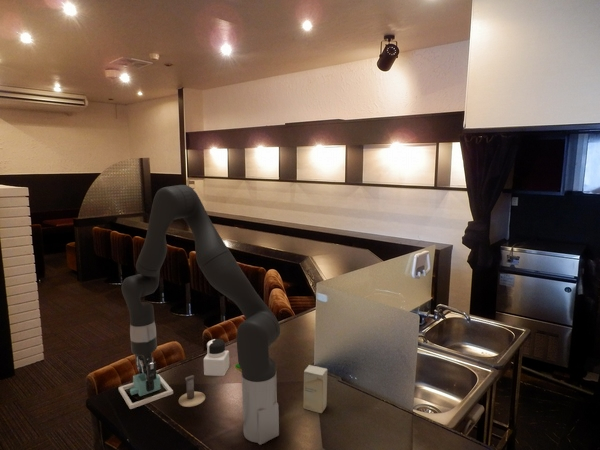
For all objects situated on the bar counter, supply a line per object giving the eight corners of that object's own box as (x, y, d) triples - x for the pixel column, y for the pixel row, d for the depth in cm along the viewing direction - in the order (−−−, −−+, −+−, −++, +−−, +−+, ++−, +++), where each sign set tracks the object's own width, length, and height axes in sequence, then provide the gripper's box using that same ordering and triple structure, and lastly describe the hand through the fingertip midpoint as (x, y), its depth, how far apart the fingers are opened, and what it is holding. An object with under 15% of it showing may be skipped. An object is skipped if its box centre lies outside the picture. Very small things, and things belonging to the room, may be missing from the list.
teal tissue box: (133, 398, 121) (132, 386, 120) (127, 389, 126) (127, 377, 125) (160, 389, 126) (159, 377, 125) (153, 380, 131) (153, 369, 130)
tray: (173, 397, 125) (173, 390, 125) (130, 412, 117) (129, 406, 117) (159, 380, 135) (158, 374, 135) (118, 393, 127) (118, 387, 127)
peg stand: (209, 403, 122) (208, 379, 120) (184, 413, 117) (183, 388, 116) (198, 392, 128) (197, 368, 127) (174, 401, 123) (173, 377, 122)
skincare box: (302, 409, 118) (302, 371, 117) (308, 401, 123) (308, 364, 121) (322, 414, 116) (322, 375, 114) (327, 405, 120) (327, 368, 118)
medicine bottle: (229, 368, 143) (228, 337, 141) (224, 379, 136) (222, 346, 134) (210, 367, 143) (209, 336, 142) (203, 378, 136) (202, 345, 135)
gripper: (124, 332, 127) (128, 380, 129) (138, 347, 116) (141, 400, 118) (148, 326, 132) (151, 372, 134) (163, 340, 120) (166, 391, 123)
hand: (146, 385), depth 126 cm, fingers closed on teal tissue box, 6 cm apart
